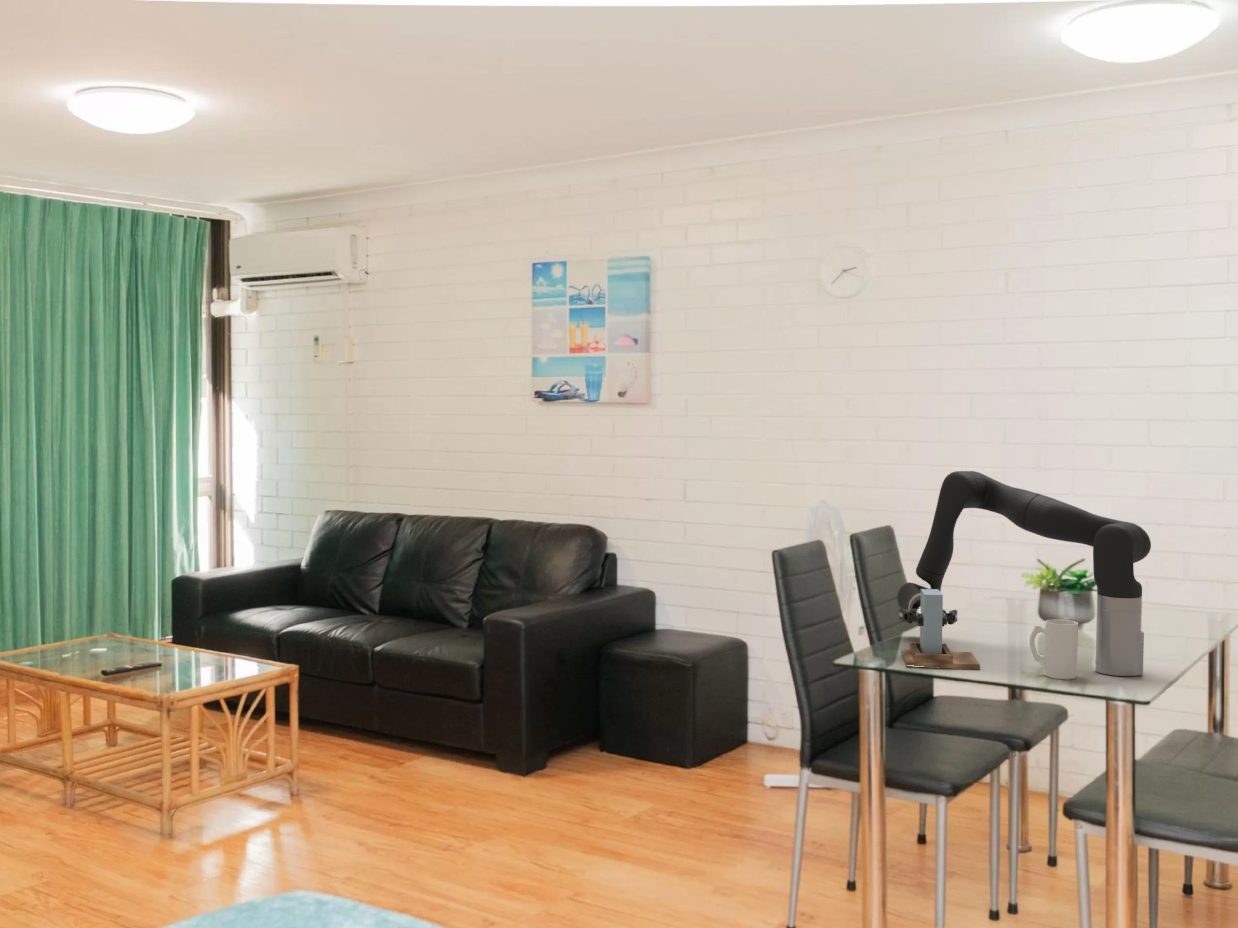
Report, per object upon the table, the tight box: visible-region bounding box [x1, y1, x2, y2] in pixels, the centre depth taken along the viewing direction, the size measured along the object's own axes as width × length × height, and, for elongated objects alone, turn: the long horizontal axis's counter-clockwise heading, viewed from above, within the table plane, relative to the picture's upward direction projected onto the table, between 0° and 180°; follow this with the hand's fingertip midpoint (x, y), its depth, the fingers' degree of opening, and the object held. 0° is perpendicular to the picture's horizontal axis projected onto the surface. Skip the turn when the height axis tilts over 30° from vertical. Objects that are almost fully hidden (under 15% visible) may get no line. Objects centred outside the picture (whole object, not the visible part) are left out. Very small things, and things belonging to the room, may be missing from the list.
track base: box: [900, 641, 981, 671], centre depth 282 cm, size 16×15×3 cm
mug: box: [1029, 619, 1079, 680], centre depth 267 cm, size 10×7×12 cm, turn 60°
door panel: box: [919, 588, 944, 654], centre depth 282 cm, size 4×9×14 cm, turn 171°
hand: (932, 621), depth 279 cm, fingers closed on door panel, 4 cm apart
